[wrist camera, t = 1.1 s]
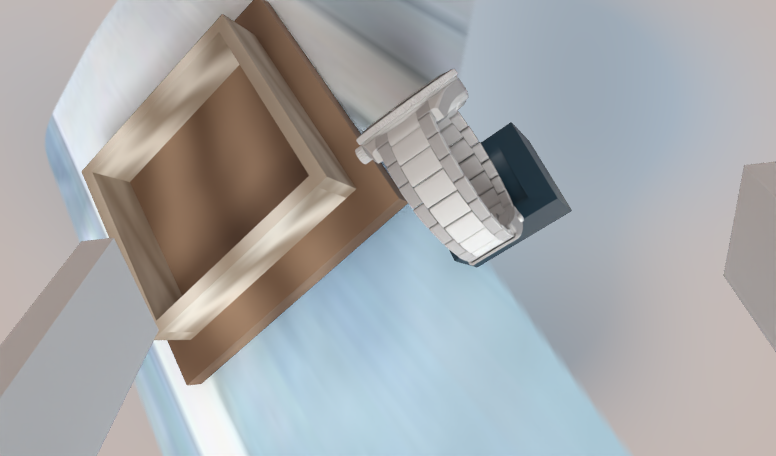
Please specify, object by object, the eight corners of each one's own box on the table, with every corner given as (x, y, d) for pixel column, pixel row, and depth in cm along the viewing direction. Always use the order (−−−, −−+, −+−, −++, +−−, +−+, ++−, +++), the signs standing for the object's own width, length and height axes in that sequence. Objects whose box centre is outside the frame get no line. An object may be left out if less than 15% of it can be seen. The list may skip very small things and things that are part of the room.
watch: (510, 111, 32) (423, 15, 22) (590, 241, 29) (530, 195, 20) (424, 170, 34) (309, 105, 24) (491, 298, 31) (391, 281, 21)
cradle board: (269, 3, 41) (226, -29, 38) (408, 202, 34) (371, 186, 30) (109, 178, 46) (57, 164, 43) (201, 383, 39) (147, 388, 35)
